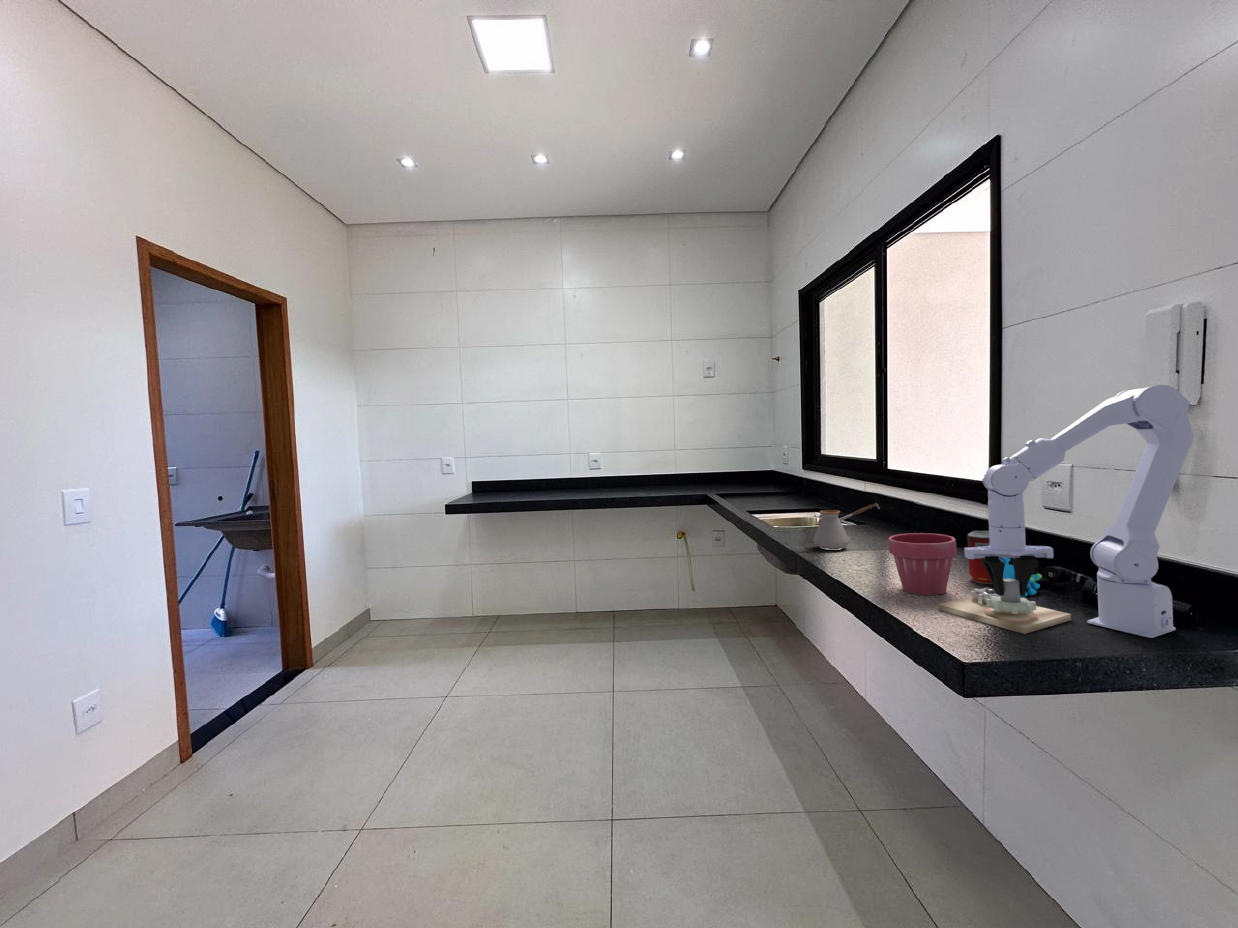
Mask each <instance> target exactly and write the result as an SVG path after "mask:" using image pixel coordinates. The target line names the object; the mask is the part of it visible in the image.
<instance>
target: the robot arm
mask: <svg viewBox="0 0 1238 928" xmlns="http://www.w3.org/2000/svg"><path fill="white" fill-rule="evenodd" d="M1190 404H1191V402H1190V401H1189V400H1188V399H1187V398H1186V397H1185V396H1184V395H1183V394H1182V393H1181V391H1179V390H1178V389H1177V388H1175V387H1173V386H1170V385H1167V384H1166V385H1165V384H1156V385H1150V386H1148V387H1141V388H1128V389H1124V390H1122V391H1120V392H1118V393H1117V394H1116V395H1115V396H1112V397H1110V398H1107V399H1106V400H1104V401H1102V402H1101V403H1100V404H1098V405H1096V406H1095V407H1094V408H1092V409H1091V410H1090V411H1088V412H1087V413H1085V414H1084V415H1083V416H1081V417H1080V418H1078V419H1077V420H1075V421H1074V422H1073V423H1072V424H1070V425H1069V426H1067V427H1066V428H1064V429H1062V431H1060V432H1059V433H1057V434H1056V435H1055V436H1053V437H1052V438H1042V437H1041V438H1037V439H1035V440H1034V439H1030V440H1027V441H1026V442H1025V443H1024V445H1025V447H1024V448H1022V449H1021V450H1019V451H1018V452H1016V453H1015V454H1013V455H1011V456H1010V457H1009V456H1006V457H1004V458H1002V462H1003V464H996V465H992V466H990V468H989V467H988V469H987V470H986V472H985V474H984V475H983V476H984V477H983V478H982V480H981V481H982V484H983V486H984V487H985V488H986V489H987V498H988V502H987V513H988V515H987V516H988V531H989V538H990V546H982V547H971V548H968V547H964V548H963V549H964V550H963V551H964V557H965V558H966V559H967V560H969V559H974V558H980V560H981V562H982V564H983V565H984V567H985V568H986V570H987V572H988V574H989V576H990V579H991V581H992V584H991V585H992V586H993V589H994V591H995V593H996V594H998V595H1000V596H1003V594H1004V587H1003V572H1004V566H1005V564H1004V562H1003V563H1002V562H1001V560H999V558H1010V559H1011V561H1012V565H1013V566H1014V572H1015V580H1019V582H1020V595H1021V596H1020V597H1022V596H1025V593H1026V592H1027V590H1028V589H1027V585H1028V582H1029V580H1030V578H1031V576H1032V575H1034V572H1035V570H1036V569H1037V567H1039V560H1038V559H1036V558H1046V559H1054V548H1053V547H1051V546H1048V545H1047V546H1046V545H1026V525H1025V503H1024V492H1025V491H1026V490H1027V488H1028V487H1029V486H1028V485H1029V482H1033V481H1035V480H1036V479H1038V478H1039V477H1041V476H1042V475H1044V474H1046V473H1047V472H1049V471H1050V470H1052V469H1053V468H1055V467H1056V466H1058V465H1060V464H1061V463H1063V462H1064V461H1065V456H1066V452H1067V451H1069V450H1070V449H1072V448H1074V447H1076V446H1077V445H1080V444H1081V443H1082V442H1084V441H1086V440H1088V439H1089V438H1092V437H1093V436H1094V435H1096V434H1098V433H1100V432H1102V431H1103V430H1105V429H1107V428H1108V427H1111V426H1115V425H1116V426H1117V425H1125V424H1126V425H1128V426H1130V427H1132V429H1135V430H1136V431H1137V432H1138V434H1139V435H1140V436H1141V437H1142V438H1143V439H1144V441H1146V445H1145V447H1144V451H1143V453H1142V455H1141V458H1140V460H1139V463H1138V465H1137V468H1136V470H1135V473H1134V475H1133V478H1132V481H1131V482H1130V485H1129V488H1128V490H1127V493H1126V495H1125V497H1124V500H1123V502H1122V505H1121V508H1120V511H1118V514H1117V518H1116V520H1115V523H1113V524H1112V525H1110V526H1109V527H1107V529H1105V530H1104V533H1103V535H1102V537H1101V538H1100V539H1099V540H1097V541H1096V542H1095V543H1094V544H1093V545H1092V546H1091V547H1090V550H1089V551H1090V552H1089V554H1090V559H1091V561H1092V562H1093V564H1094V565H1096V566H1097V567H1098V571H1097V572H1096V579H1097V603H1098V604H1097V607H1098V617H1094V618H1091V619H1088V620H1087V623H1088V624H1091V625H1095V626H1098V627H1103V628H1108V629H1112V630H1115V631H1118V632H1119V631H1120V632H1123V633H1128V634H1131V635H1137V636H1141V637H1145V638H1149V639H1153V638H1156V637H1159V636H1163V635H1165V634H1167V633H1171V632H1173V631H1176V627H1174V614H1173V613H1174V610H1173V594H1172V592H1171V589H1170V588H1169V587H1168V586H1166V585H1163V584H1160V583H1156V582H1154V581H1152V578H1154V576H1155V575H1156V574H1157V572H1158V570H1159V560H1158V552H1159V549H1160V544H1159V541H1158V539H1157V536H1156V530H1157V527H1158V525H1159V524H1160V521H1161V519H1162V516H1163V513H1164V510H1165V509H1166V506H1167V503H1168V501H1169V498H1170V496H1171V493H1172V491H1173V489H1174V486H1175V484H1176V481H1177V479H1178V477H1179V474H1180V472H1181V471H1182V467H1183V465H1184V462H1185V460H1186V458H1187V456H1188V453H1189V450H1190V448H1191V446H1192V443H1193V439H1194V433H1193V429H1192V425H1191V422H1190V418H1189V413H1188V410H1189V407H1190Z"/></svg>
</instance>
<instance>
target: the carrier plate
mask: <svg viewBox="0 0 1238 928" xmlns="http://www.w3.org/2000/svg"><path fill="white" fill-rule="evenodd" d="M938 610H939V611H942V612H945V613H949V614H952V615H956V616H960V617H963V618H967V619H971V620H973V621H977V622H980V623H984V624H988V625H991V626H994V627H995V626H996V627H998V628H1002V629H1005V630H1009V631H1013V632H1016V633H1020V634H1024V635H1025V634H1029V633H1033V632H1035V631H1039V630H1042V629H1043V630H1044V629H1046V628H1049V627H1053V626H1057V625H1060V624H1063V623H1066V622H1070V621H1072V613H1067V612H1065V611H1059V610H1056V609H1051V608H1047V607H1043V606H1039V605H1036V610H1033V613H1018V614H1012V613H1011V612H1004V611H1000V612H998V611H994V609H993V608H987V605H986V604H983V605H981V604H978V602H976V601H972V597H971V595H970V596H966V597H962V598H958V599H954V600H950V601H947V602H941V603H938Z"/></svg>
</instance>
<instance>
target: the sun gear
mask: <svg viewBox="0 0 1238 928" xmlns="http://www.w3.org/2000/svg"><path fill="white" fill-rule="evenodd" d="M970 594H971V595H970V596H971V597H972V601H976V602H978V604H981V605H983V604H986V605H987V603H986V599H990V596H995V597H1000V595H998V594H996V593H995V591H994V587H993V588H991V587H984V588H977V587H976V588H973V590H971V593H970Z"/></svg>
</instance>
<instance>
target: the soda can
mask: <svg viewBox="0 0 1238 928" xmlns="http://www.w3.org/2000/svg"><path fill="white" fill-rule="evenodd" d="M966 536H967V548H971V547H982V546H990V538H989V530H973V531H971V532H969V533H967V535H966ZM999 559H1000V560H1001V561H1002V559H1003V558H999ZM1002 563H1004V562H1003V561H1002ZM968 573H969V575H970V577H971V579H972V581H973V582H974V583H978V584H984V585H993V584H992V581H991V579H990V576H989V574H988V572H987V570H986V568H985V567H984V565H983V564H982V562H981V560H980V558H974V559H968Z"/></svg>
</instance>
